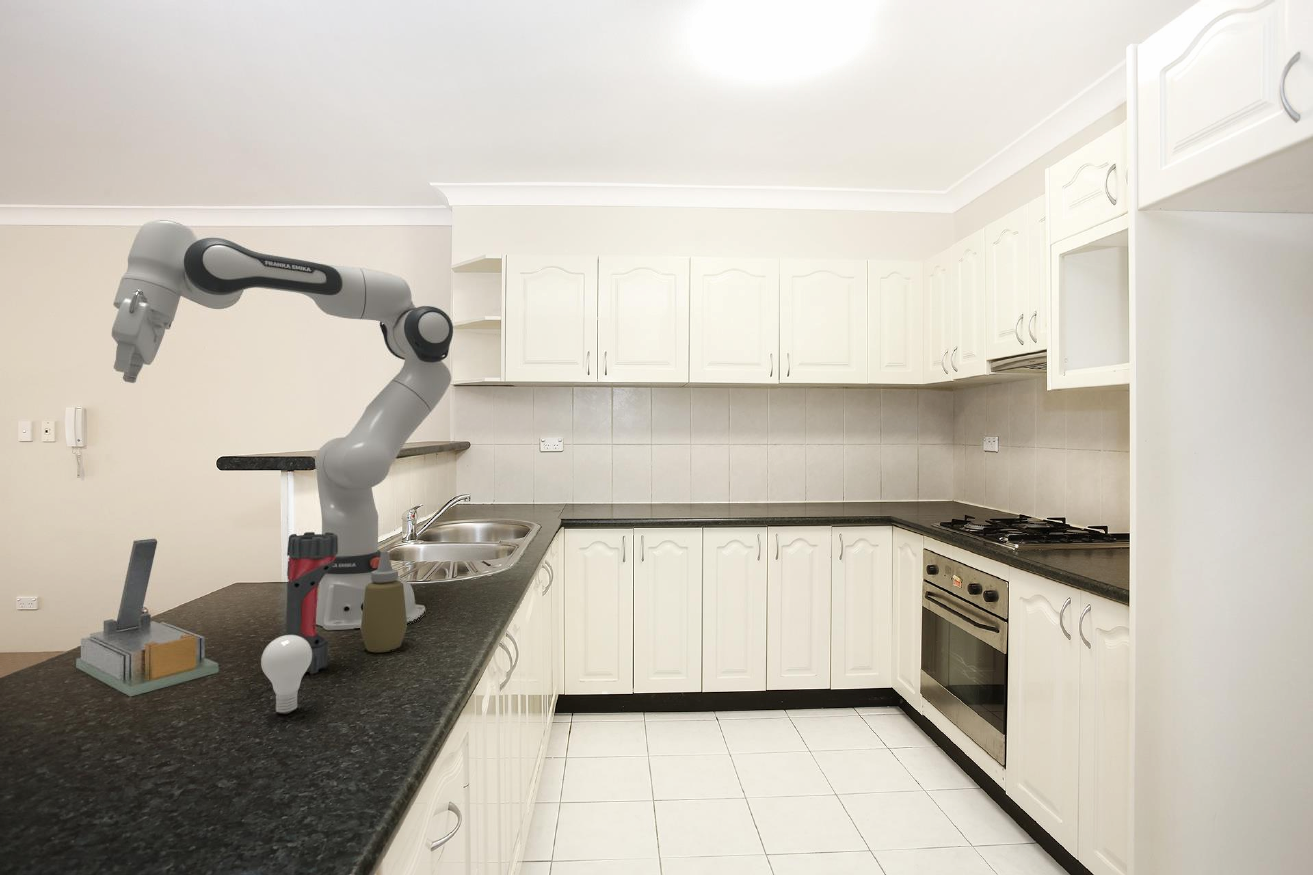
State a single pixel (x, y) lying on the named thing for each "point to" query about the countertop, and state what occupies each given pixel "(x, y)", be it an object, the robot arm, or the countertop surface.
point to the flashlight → (308, 589)
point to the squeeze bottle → (384, 609)
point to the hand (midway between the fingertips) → (124, 376)
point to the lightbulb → (286, 668)
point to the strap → (136, 583)
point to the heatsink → (144, 656)
